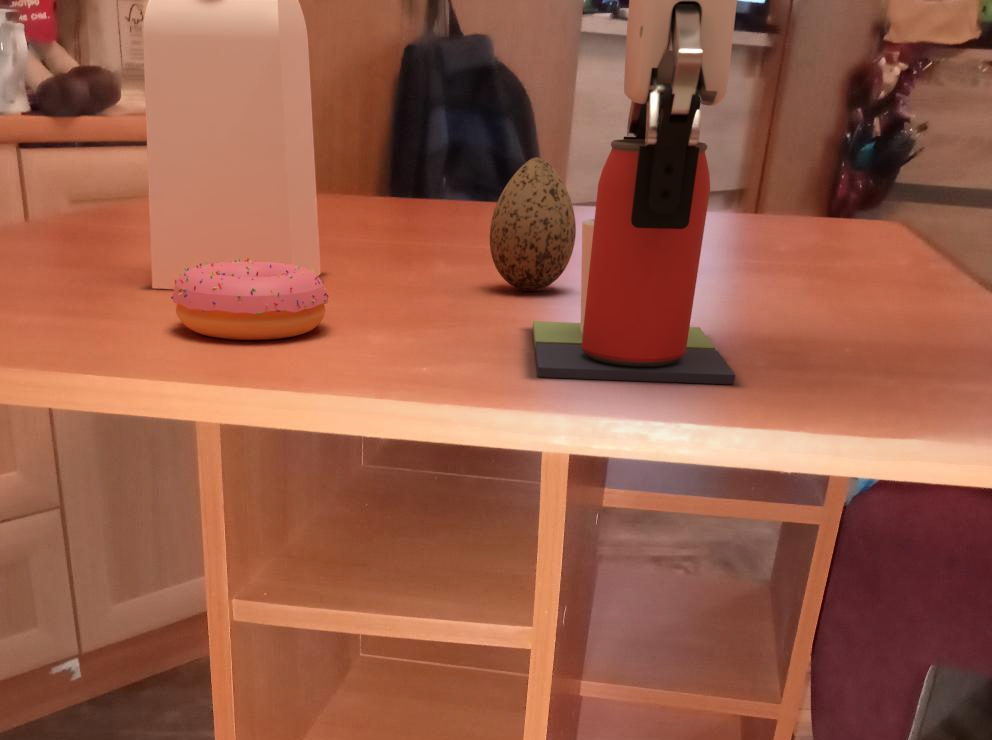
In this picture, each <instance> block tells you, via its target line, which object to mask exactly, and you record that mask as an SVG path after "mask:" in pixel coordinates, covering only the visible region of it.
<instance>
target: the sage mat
mask: <svg viewBox="0 0 992 740" xmlns="http://www.w3.org/2000/svg"><path fill="white" fill-rule="evenodd" d="M580 330H581V322H565V321H564V322H563V321H535V320H533V322H532V337H533V338H532V339H533V347H534V348H533V349H535V345H536V344H561V345H582V337H583V334H582V333H581V331H580ZM686 349H697V350H716V347H715V346H714V344H713V343H712V341H711V340H710V339H709V337H708V336H707V335H706V334H705V332H704V330H702V328H701V327H700V326H690V327H689V334H688V340H687V347H686Z"/></svg>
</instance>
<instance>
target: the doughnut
mask: <svg viewBox="0 0 992 740" xmlns="http://www.w3.org/2000/svg"><path fill="white" fill-rule="evenodd" d="M248 260H249V258H248V259H247V261H246V260H245V262H240V259H239V262H236V260H235V262H233V261H232V260H230V262H222V263H218V262H217V263H212V264H208V262H206V264H205V265H201V263H200V266H197V265H196V267H194V268H191V269H189V268H188V269H186V268H185V271H186V272H184V273H183V274H182V275H181V274H180V275H179V279H178V280H177V282H176V280H175V287H174V289H172V290H173V291H172V296H170V299H172V301H173V303H174V304H176V305H175V314H176V315H177V318H178V319H179V321H181V323H182V324H183V325H184V326H185V327H187V328H188V329H189V330H191V331H193V332H195V333H197V334H200V335H203V336H207V337H211V338H216V339H223V340H224V339H225V340H237V341H242V340H243V341H266V340H278V339H286V338H291V337H292V338H293V337H297V336H301V335H304V334H307V333H308V332H311V331H312V330H314V329H315V328H317V327H318V326H319V325H320V324H321V322H322V320H323V319H324V318H325V316H326V306H325V304H328V303H329V297H330V295H329V294H328V292H327V286H325V284H324V282H325V281H324V280H321V278H320V277H319V276H317V275H316V273H315V272H313V271H314V269H312V270H308V269H307V268H303V267H300V266H296V265H291V264H284V263H279V262H278V263H273V262H256V261H255V262H251V261H248Z"/></svg>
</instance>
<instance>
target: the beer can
mask: <svg viewBox="0 0 992 740" xmlns="http://www.w3.org/2000/svg"><path fill="white" fill-rule="evenodd" d="M610 146H611V150H610V152H609V154H608V156H607V158H606V161H605V163H604V165H603V167H602V169H601V172H600V176H599V180H598V182H597V191H596V202H595V210H594V219H595V220H594V230H593V239H592V249H591V259H590V269H589V278H588V288H587V298H586V307H585V317H584V327H583V337H582V349H583V351H584V353H585V354H586V355H587V356H589V357H590V358H591V359H593V360H596V361H599V362H602V363H606V364H611V365H617V366H625V367H658V366H665V365H669V364H672V363H674V362H676V361H677V360H679V359H680V358H681V357H682V356H683V355H684V354H685V352H686V347H687V340H688V334H689V327H691V319H692V315H693V313H692V312H693V307H694V300H695V293H696V287H697V286H696V285H697V280H698V273H699V267H700V259H701V252H702V247H703V239H704V232H705V226H706V221H707V213H708V207H709V200H710V194H711V176H710V170H709V164H708V159H707V155H706V151H707V150H708V148H709V147H708V145H707V143H705V142H701V141H698V145H697V147H699V148H700V149H699V156H698V163H697V170H696V177H695V184H694V191H693V199H692V206H691V213H690V220H689V224H688V226H687V227H686V228H684V229H660V228H636V227H634V226H633V224H632V223H631V214H632V205H633V197H634V188H635V179H636V171H637V162H638V153H639V146H645V139H624V138H623V139H613V140H612V141H610Z"/></svg>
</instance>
